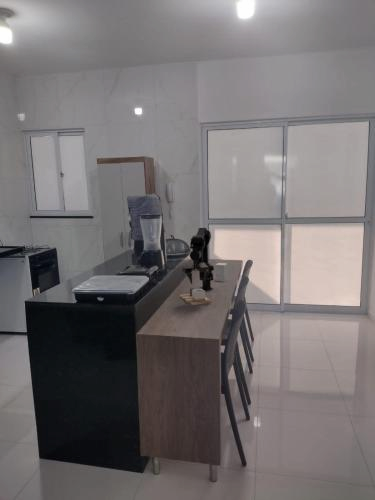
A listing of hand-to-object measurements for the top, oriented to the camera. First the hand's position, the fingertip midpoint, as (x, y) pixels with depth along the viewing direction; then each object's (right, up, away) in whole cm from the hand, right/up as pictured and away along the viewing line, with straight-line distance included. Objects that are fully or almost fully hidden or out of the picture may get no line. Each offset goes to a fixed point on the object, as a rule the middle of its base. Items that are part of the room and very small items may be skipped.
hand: (198, 282), depth 224 cm
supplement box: (+19, -3, +53) cm, 56 cm away
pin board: (-2, -11, +7) cm, 13 cm away
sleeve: (0, -11, +2) cm, 11 cm away
